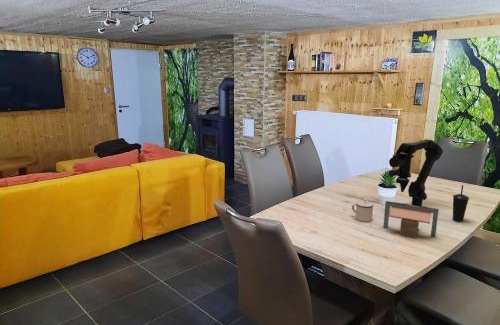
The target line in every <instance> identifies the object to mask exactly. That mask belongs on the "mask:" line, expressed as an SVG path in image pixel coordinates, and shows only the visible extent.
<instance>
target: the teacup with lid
mask: <svg viewBox="0 0 500 325" xmlns="http://www.w3.org/2000/svg"><path fill="white" fill-rule="evenodd" d="M351 205H352V206H351V210H352V211H353V213H355V219H356V220H357V221H358V222H363V223H369V222H371V221H372V220H373V211H374V209H373V208H374V203H373V202H372V201H368V198H363V199H362V200H358V201H357V202H356V203H354V204H351ZM355 206H356V207H355ZM355 208H356V209H355Z"/></svg>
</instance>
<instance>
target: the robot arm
mask: <svg viewBox="0 0 500 325" xmlns="http://www.w3.org/2000/svg"><path fill="white" fill-rule="evenodd" d="M396 150H397V151H396V152H395V153H394V154H393V155H392V157H391V158H389V160H388V164H389V166H390V167H391V168H394V169H389V170H388V171H387V173H388V174H387V175H388V176H389V178H393V177H396V176H397V177H396V179H395V183H396V184H399V187H400V192H401V193H404V192H405V190H406V188H407V187H408V189H407V191H408V197H411V198H412V199H411V205H415V206H422V207H424V206H423V201H426V200H427V198H428V194H427V193H426V185H425V184H426V181H427V179H428V177H429V175H430V172H431V171H432V168H433V166H434V164H435V163H436V162H437V160H440V158H441V157H442V155H443V152H444V151H443V149H442V147H441V146H440V145H439V144H437V143H435V141H434V140H432V139H428V138H427V139H423V140H419V141H416V142H411V143H410V142H402V143H401V144H400V145H399V147H398V148H397V149H396ZM419 150H424V151H425V152H424V156H425V160H424V162H423V164H422V165H421V166H422V167H421V169H420V171H419V173H418V175H417V177H416V180H414V181H411V182H410V179H411V178H412V173H411V168H412V166H411V165H412V159H413V158H415V156H414V154H415V153H416V152H417V151H419ZM409 178H410V179H409ZM409 182H410V185H409V186H408V184H409Z"/></svg>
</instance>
